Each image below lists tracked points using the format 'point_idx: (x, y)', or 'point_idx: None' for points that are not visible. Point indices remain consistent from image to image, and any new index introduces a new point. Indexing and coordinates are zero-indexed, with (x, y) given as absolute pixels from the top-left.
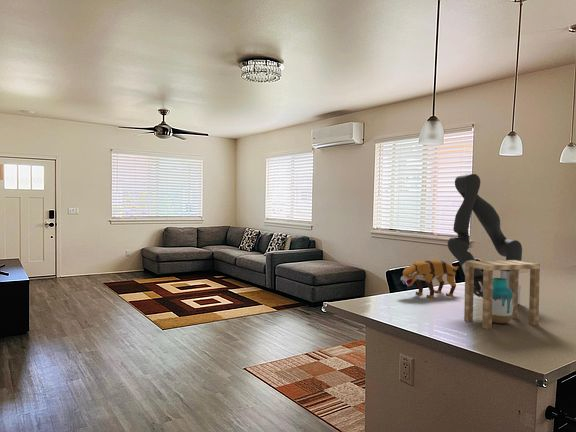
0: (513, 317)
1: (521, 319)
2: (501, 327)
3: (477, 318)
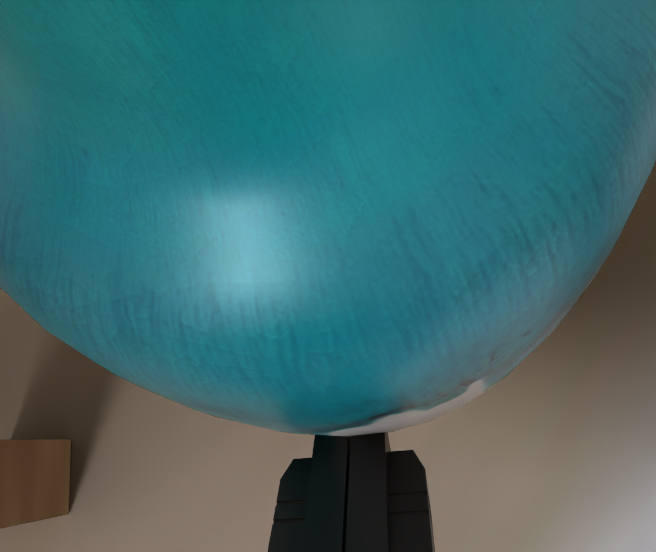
0: (54, 439)
1: (3, 392)
2: None
3: (537, 527)
